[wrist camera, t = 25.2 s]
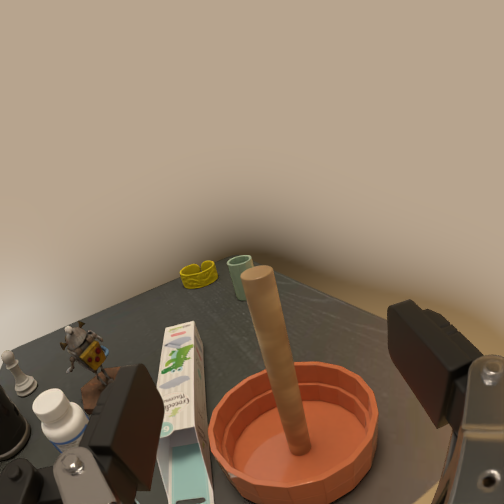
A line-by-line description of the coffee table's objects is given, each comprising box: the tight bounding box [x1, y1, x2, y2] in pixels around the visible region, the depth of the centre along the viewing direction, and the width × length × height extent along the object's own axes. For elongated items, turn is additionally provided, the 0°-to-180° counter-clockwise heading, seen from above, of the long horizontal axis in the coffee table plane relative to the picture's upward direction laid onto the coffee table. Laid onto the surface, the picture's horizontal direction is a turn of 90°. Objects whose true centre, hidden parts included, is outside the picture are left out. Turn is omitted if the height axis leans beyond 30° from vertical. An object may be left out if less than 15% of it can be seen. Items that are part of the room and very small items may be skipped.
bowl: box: [208, 362, 379, 504], centre depth 25 cm, size 14×14×6 cm
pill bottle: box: [32, 389, 89, 453], centre depth 25 cm, size 6×5×10 cm
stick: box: [240, 265, 311, 456], centre depth 22 cm, size 2×2×18 cm
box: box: [156, 321, 214, 504], centre depth 33 cm, size 4×4×28 cm
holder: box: [227, 255, 254, 301], centre depth 59 cm, size 4×4×7 cm
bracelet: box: [180, 261, 218, 289], centre depth 71 cm, size 7×8×3 cm
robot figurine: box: [60, 321, 120, 414], centre depth 37 cm, size 11×9×12 cm
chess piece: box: [1, 350, 37, 397], centre depth 40 cm, size 5×5×8 cm
